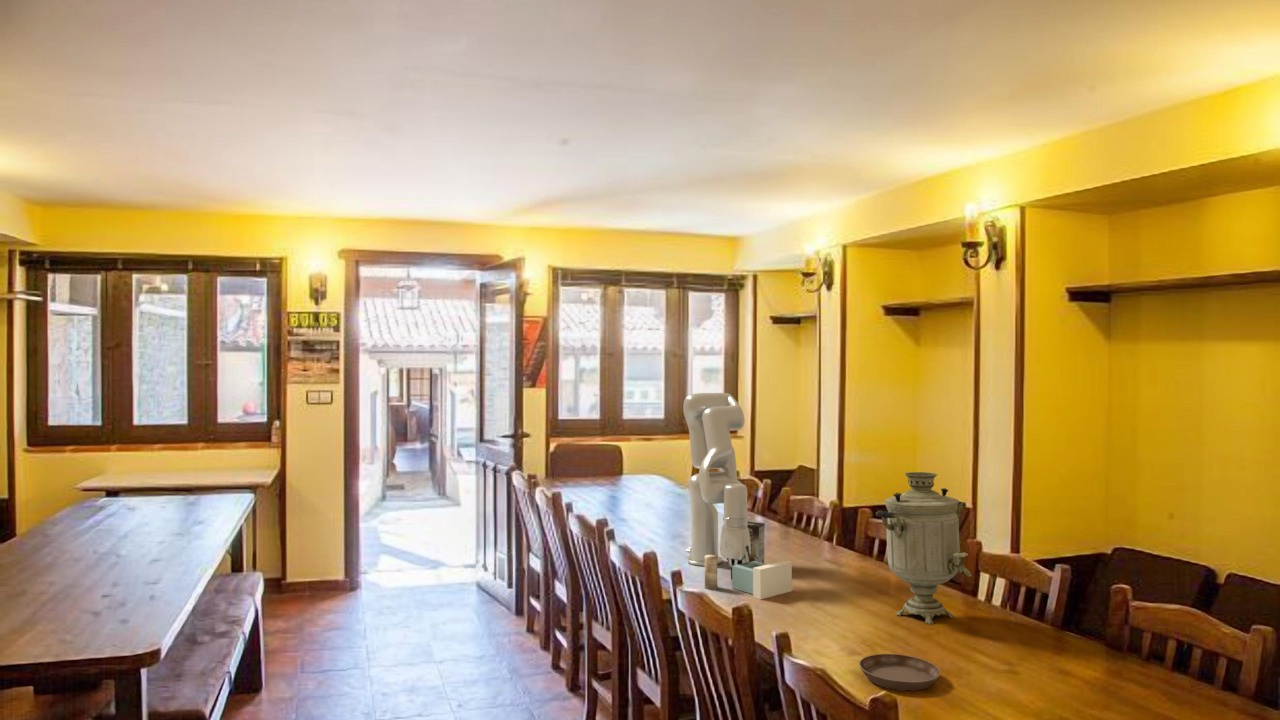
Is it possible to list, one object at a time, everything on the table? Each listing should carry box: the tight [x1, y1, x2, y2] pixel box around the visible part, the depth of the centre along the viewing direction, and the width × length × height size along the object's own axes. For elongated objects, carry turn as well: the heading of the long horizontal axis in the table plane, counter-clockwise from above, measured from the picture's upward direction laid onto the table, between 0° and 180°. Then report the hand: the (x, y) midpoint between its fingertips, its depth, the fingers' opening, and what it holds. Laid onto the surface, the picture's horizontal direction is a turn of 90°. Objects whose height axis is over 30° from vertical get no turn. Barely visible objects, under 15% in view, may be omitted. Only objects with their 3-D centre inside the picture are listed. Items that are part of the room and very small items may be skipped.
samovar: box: [875, 471, 972, 625], centre depth 241 cm, size 30×26×40 cm
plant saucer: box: [858, 653, 941, 691], centre depth 197 cm, size 18×18×3 cm
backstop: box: [752, 560, 793, 600], centre depth 267 cm, size 3×14×9 cm, turn 129°
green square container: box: [731, 561, 768, 595], centre depth 273 cm, size 10×10×7 cm
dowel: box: [704, 555, 718, 591], centre depth 274 cm, size 4×4×10 cm
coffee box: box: [747, 521, 766, 564], centre depth 297 cm, size 9×6×16 cm
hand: (736, 579), depth 279 cm, fingers closed
